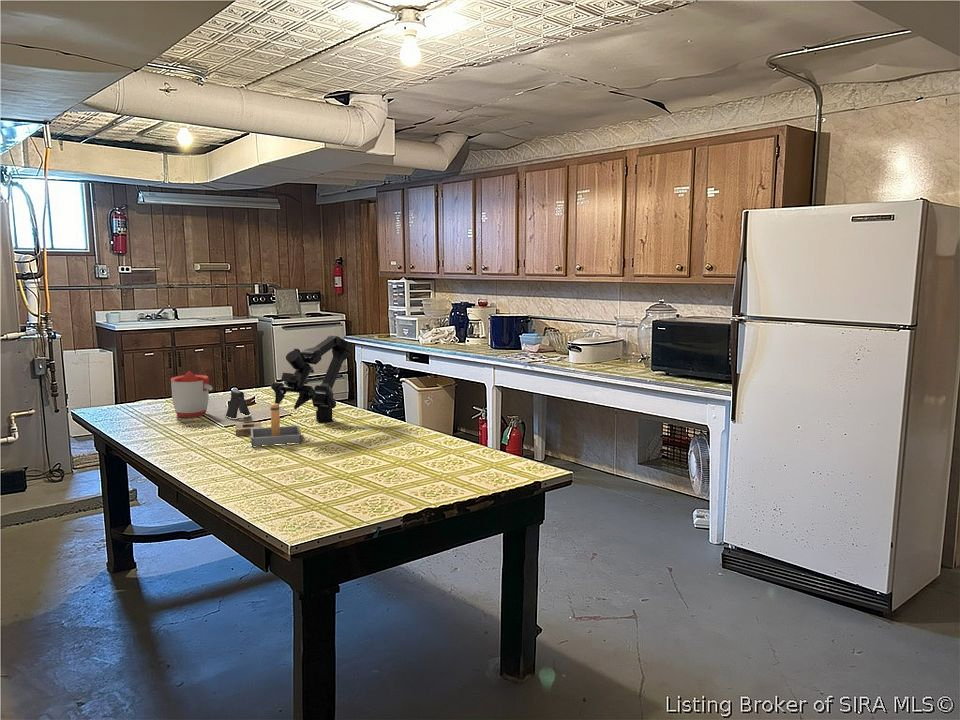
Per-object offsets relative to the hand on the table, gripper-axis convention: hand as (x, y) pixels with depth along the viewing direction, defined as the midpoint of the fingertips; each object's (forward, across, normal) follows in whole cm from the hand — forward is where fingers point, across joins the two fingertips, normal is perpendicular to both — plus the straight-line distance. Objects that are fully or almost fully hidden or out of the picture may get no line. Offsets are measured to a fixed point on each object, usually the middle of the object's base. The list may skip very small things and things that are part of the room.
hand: (285, 407), depth 276 cm
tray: (+13, 0, +4) cm, 13 cm away
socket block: (+9, -18, +8) cm, 21 cm away
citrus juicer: (0, -58, +17) cm, 60 cm away
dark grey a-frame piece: (-3, -38, +20) cm, 43 cm away
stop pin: (+12, 0, +3) cm, 13 cm away
